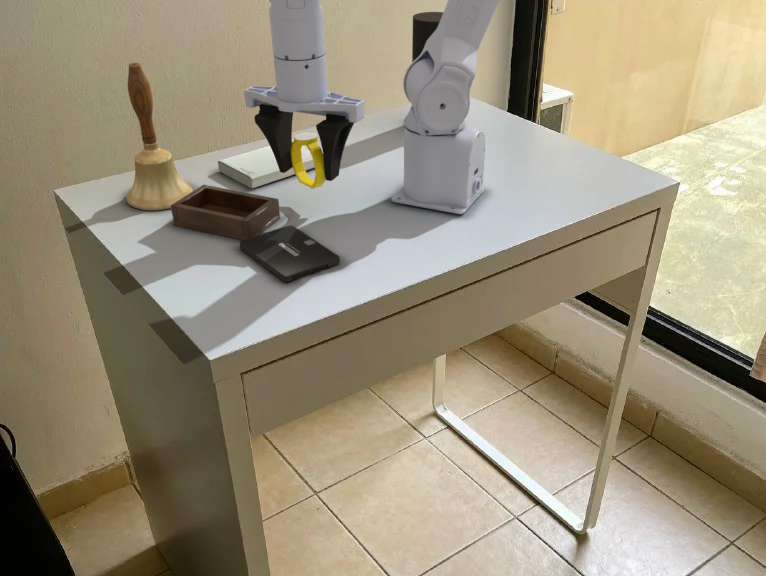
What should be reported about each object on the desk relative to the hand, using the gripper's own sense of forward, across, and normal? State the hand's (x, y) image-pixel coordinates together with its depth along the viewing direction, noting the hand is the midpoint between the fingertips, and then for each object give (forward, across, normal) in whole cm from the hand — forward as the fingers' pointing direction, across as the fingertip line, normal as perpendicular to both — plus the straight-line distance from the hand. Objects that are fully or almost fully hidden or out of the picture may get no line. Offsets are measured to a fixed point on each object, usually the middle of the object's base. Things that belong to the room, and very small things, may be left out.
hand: (308, 173), depth 93 cm
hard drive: (+4, -10, +8) cm, 13 cm away
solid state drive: (+4, +4, -13) cm, 14 cm away
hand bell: (+4, -18, -6) cm, 20 cm away
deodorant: (+4, +3, +32) cm, 32 cm away
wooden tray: (+4, -7, -9) cm, 11 cm away
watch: (+2, 0, 0) cm, 2 cm away
